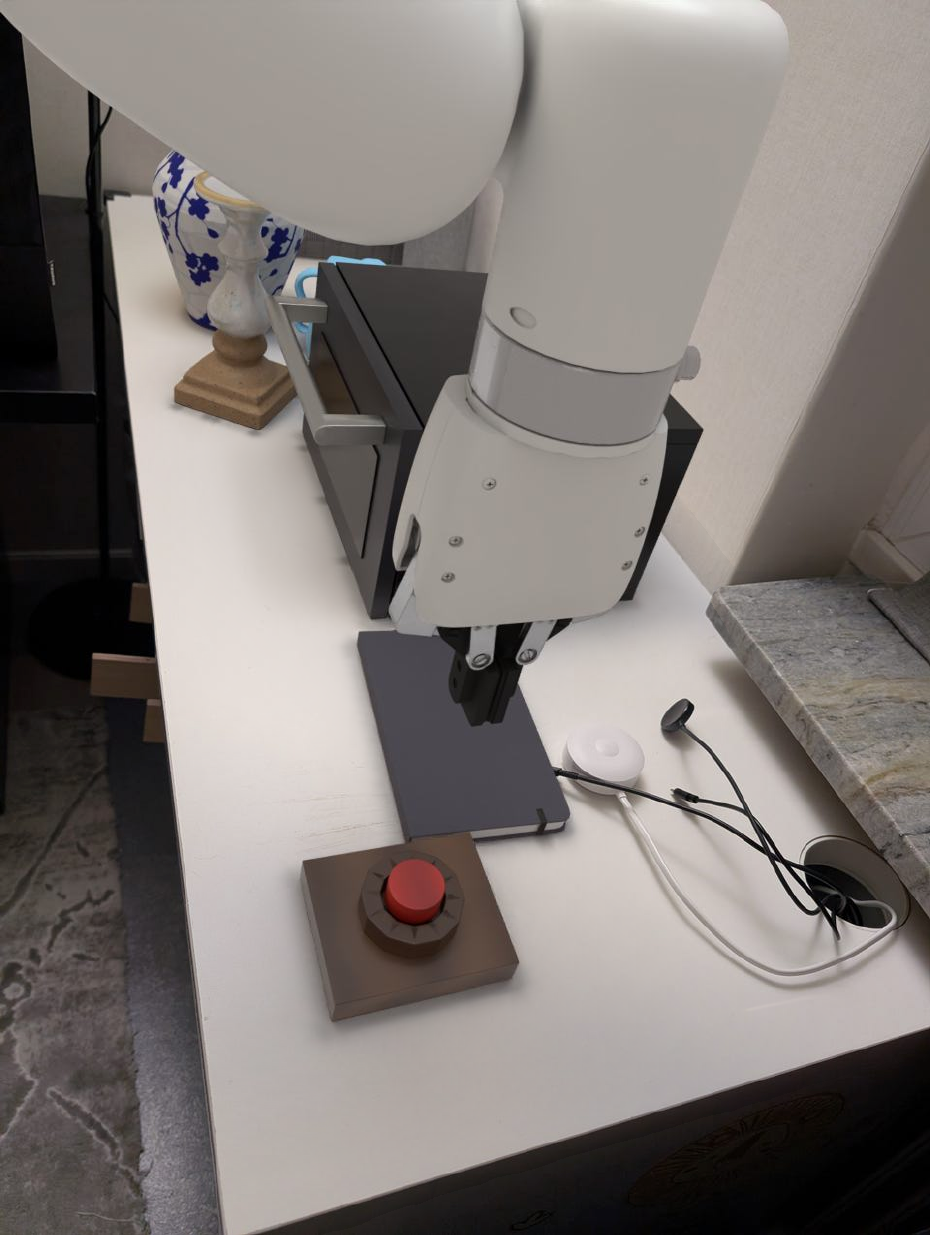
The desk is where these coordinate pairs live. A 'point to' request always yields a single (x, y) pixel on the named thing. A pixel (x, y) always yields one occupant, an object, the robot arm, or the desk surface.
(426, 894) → the button
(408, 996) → the control block
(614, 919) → the desk surface
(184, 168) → the vase
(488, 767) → the notebook
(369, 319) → the oven
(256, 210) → the candle holder
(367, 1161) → the desk surface
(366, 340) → the oven door
